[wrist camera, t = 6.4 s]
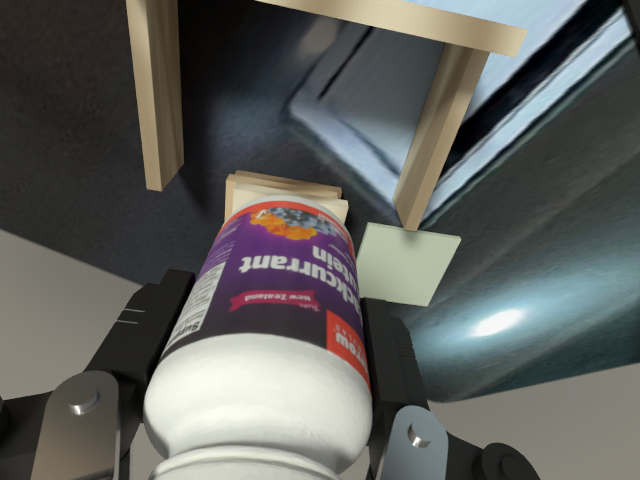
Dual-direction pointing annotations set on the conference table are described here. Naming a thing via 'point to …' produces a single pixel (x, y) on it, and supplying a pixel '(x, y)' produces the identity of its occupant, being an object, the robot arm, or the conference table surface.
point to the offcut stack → (280, 192)
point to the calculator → (633, 15)
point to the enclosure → (343, 3)
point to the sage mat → (402, 263)
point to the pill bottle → (266, 354)
